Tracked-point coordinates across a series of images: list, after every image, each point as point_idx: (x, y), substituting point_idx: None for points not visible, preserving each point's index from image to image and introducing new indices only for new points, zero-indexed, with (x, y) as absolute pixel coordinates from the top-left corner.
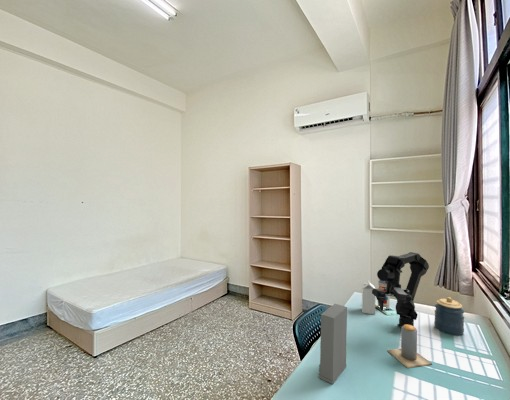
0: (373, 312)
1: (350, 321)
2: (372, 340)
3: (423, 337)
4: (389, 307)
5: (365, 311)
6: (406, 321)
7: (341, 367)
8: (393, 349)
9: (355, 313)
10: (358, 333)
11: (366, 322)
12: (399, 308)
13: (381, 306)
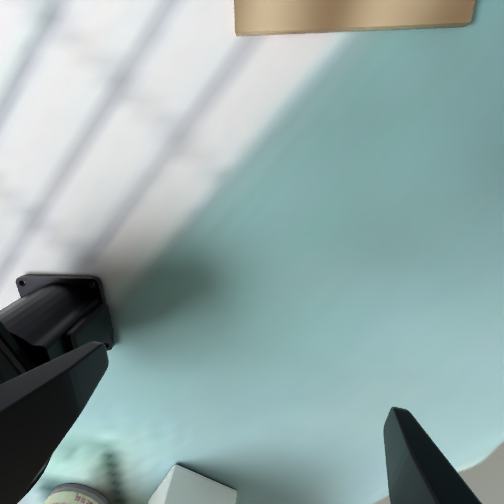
0: (180, 478)
1: None
2: (440, 207)
3: (23, 178)
4: (46, 500)
5: (221, 495)
6: (46, 321)
7: None
8: (407, 23)
9: (284, 492)
10: (460, 307)
11: (293, 406)
12: (44, 392)
13: (473, 499)
